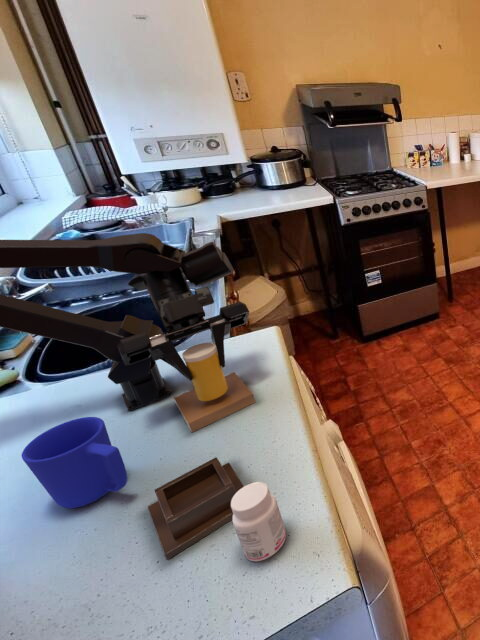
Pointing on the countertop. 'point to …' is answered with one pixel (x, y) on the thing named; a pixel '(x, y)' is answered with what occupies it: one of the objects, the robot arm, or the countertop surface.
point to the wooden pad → (214, 404)
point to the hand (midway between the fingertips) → (207, 373)
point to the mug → (76, 462)
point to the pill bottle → (257, 521)
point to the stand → (194, 505)
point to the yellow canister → (205, 371)
